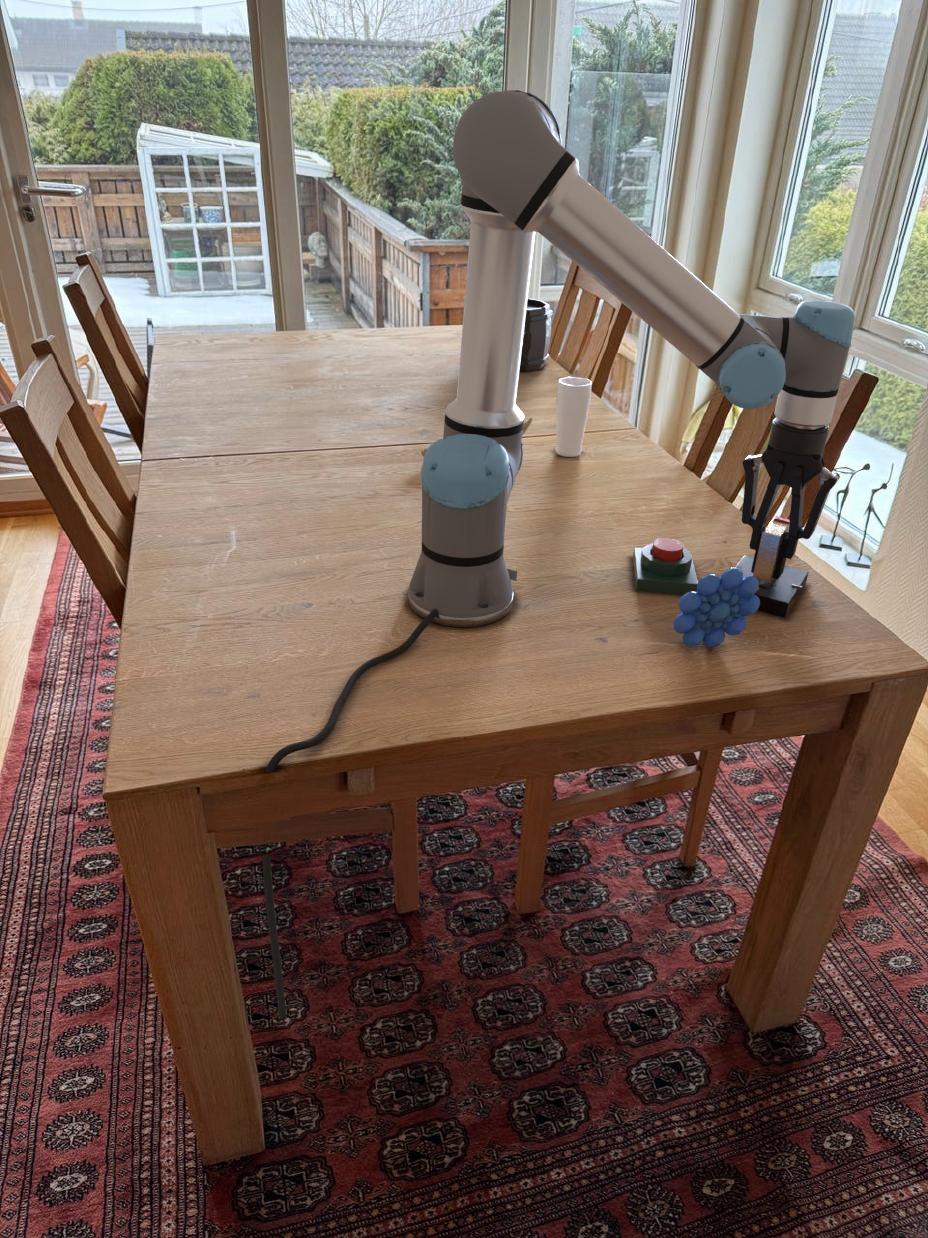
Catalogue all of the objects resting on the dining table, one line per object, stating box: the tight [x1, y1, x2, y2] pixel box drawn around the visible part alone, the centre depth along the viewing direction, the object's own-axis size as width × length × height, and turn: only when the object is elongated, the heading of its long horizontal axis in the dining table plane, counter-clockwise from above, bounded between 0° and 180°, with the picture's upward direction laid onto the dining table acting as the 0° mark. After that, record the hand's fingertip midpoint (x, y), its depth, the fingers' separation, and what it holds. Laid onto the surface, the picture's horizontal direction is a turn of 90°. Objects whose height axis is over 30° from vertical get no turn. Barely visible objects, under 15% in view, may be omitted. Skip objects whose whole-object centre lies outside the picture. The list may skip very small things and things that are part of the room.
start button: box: [652, 537, 685, 561], centre depth 140 cm, size 5×5×2 cm
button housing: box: [632, 543, 699, 595], centre depth 142 cm, size 11×9×4 cm
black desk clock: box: [519, 297, 554, 372], centre depth 243 cm, size 18×18×16 cm
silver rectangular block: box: [753, 515, 790, 588], centre depth 136 cm, size 6×3×9 cm, turn 148°
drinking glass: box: [554, 376, 593, 458], centre depth 185 cm, size 7×7×15 cm
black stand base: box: [730, 554, 809, 619], centre depth 139 cm, size 12×11×3 cm
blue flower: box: [672, 567, 760, 648], centre depth 123 cm, size 12×7×12 cm, turn 98°
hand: (766, 572), depth 137 cm, fingers closed on silver rectangular block, 3 cm apart
